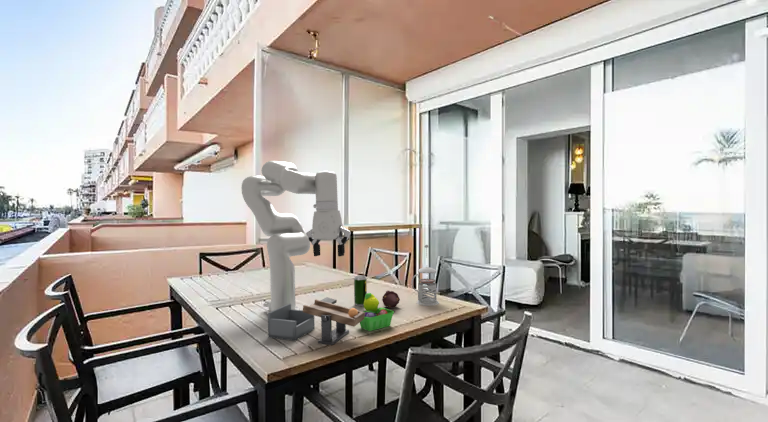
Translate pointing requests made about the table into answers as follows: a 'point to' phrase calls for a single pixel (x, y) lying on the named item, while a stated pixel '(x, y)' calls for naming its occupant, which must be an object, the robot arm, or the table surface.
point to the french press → (423, 298)
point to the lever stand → (328, 334)
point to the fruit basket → (375, 314)
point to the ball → (352, 312)
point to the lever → (333, 311)
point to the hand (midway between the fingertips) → (329, 255)
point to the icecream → (390, 299)
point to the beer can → (360, 290)
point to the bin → (289, 323)
